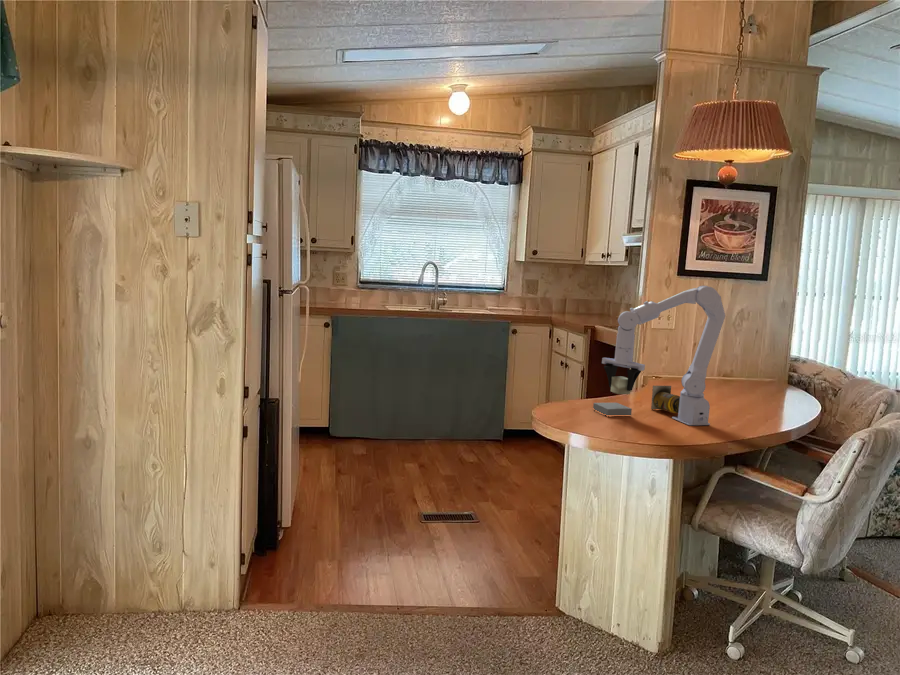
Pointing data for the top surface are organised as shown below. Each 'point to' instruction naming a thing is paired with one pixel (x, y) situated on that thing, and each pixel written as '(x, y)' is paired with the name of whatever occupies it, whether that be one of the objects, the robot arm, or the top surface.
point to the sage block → (619, 385)
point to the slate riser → (612, 408)
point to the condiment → (664, 399)
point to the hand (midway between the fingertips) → (620, 388)
